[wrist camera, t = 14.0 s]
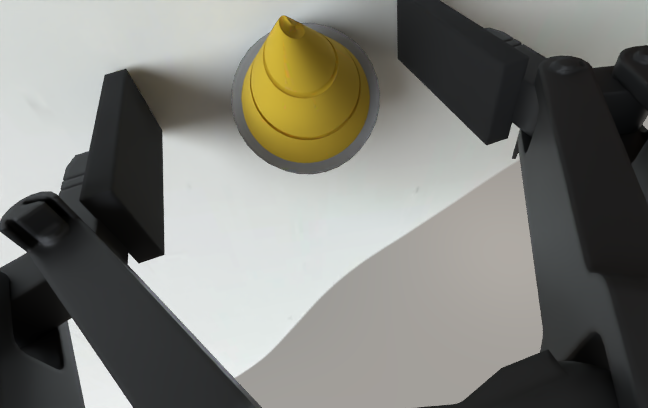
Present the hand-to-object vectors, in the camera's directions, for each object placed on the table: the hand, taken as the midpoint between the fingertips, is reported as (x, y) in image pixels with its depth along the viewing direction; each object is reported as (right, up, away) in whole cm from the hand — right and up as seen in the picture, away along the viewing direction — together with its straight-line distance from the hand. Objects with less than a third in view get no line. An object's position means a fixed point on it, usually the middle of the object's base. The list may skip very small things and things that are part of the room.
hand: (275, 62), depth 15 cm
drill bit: (0, 0, 0) cm, 0 cm away
